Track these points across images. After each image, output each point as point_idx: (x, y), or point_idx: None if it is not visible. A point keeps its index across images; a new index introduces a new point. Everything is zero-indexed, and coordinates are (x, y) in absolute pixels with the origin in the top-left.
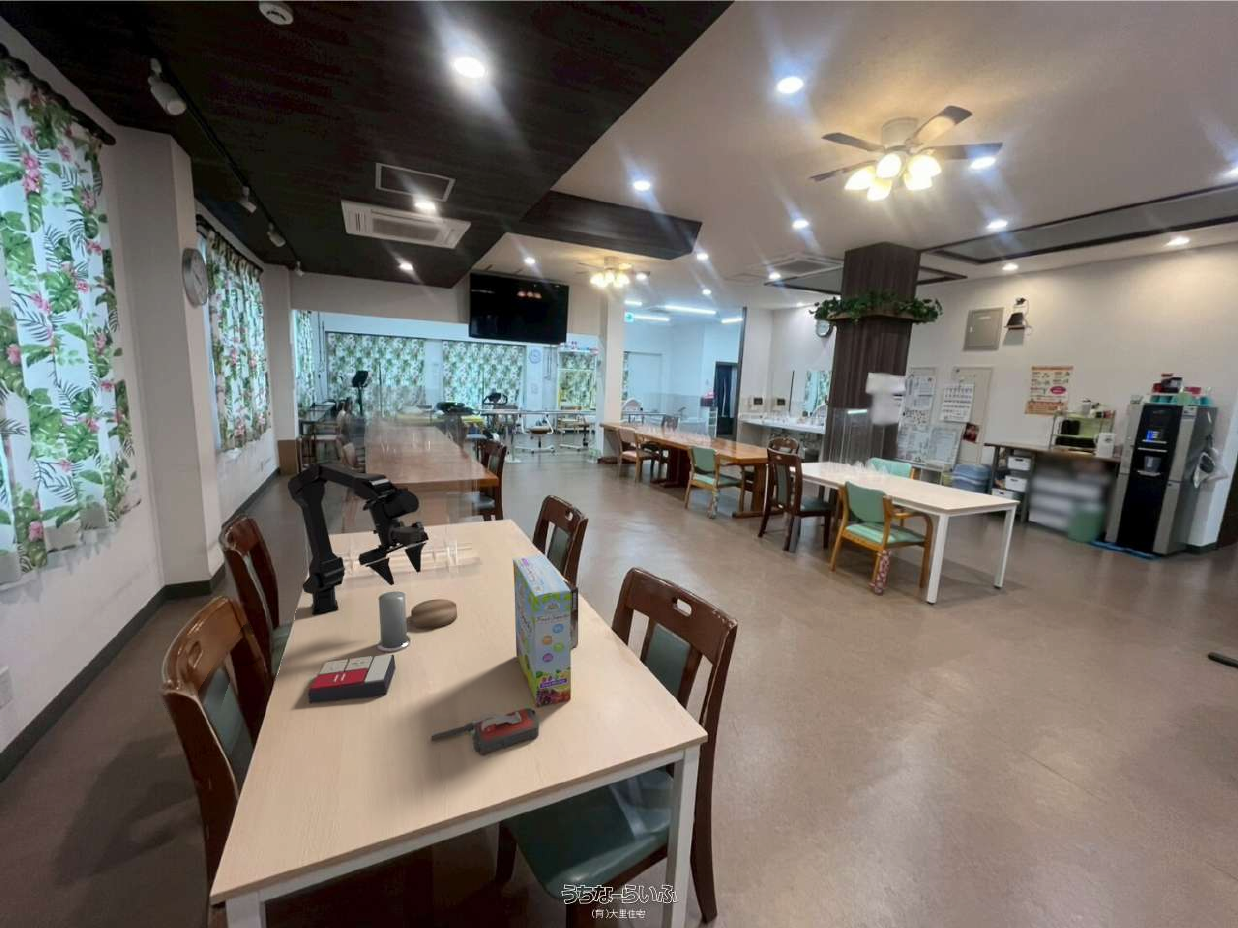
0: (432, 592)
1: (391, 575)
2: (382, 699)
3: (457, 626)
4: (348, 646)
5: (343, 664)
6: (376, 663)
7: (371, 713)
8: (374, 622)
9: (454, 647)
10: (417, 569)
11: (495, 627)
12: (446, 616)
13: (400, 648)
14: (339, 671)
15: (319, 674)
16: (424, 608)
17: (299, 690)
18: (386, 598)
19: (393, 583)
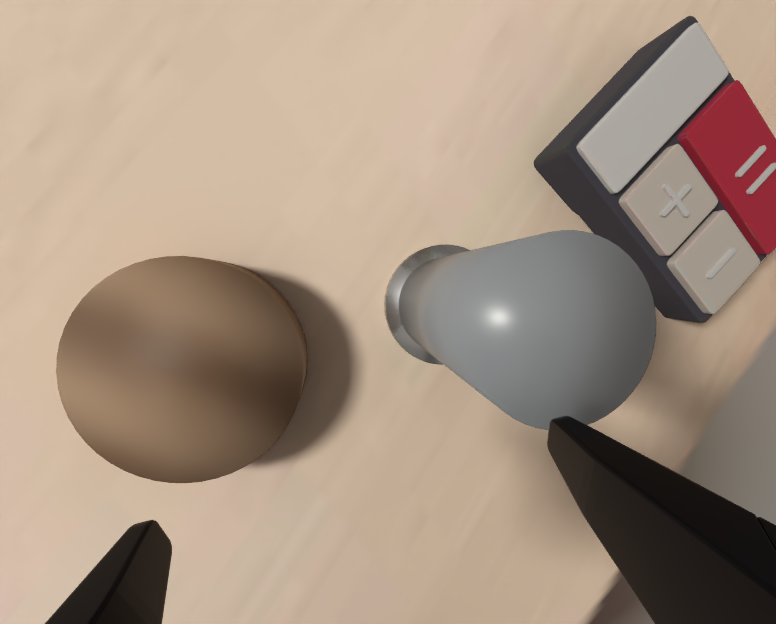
0: (27, 608)
1: (646, 486)
2: None
3: (184, 214)
4: None
5: (700, 242)
6: (644, 139)
7: (715, 5)
8: (386, 520)
9: (316, 80)
10: (148, 569)
11: (64, 47)
12: (194, 257)
13: (457, 247)
14: (728, 214)
15: (758, 261)
16: (217, 412)
17: (748, 294)
18: (609, 334)
19: (564, 419)
